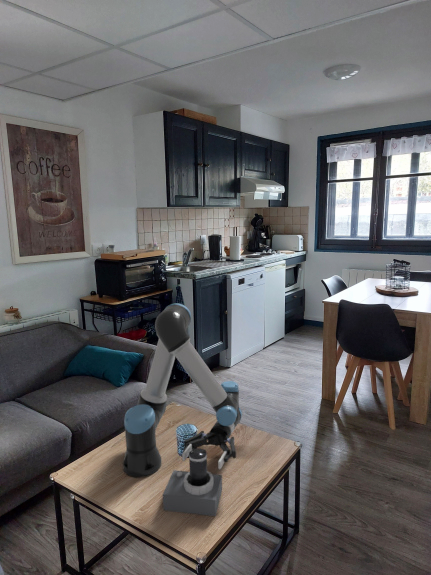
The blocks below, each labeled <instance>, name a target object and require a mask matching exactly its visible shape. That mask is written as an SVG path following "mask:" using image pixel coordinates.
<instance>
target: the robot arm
mask: <svg viewBox="0 0 431 575" xmlns="http://www.w3.org/2000/svg"><path fill="white" fill-rule="evenodd" d="M191 323H192V313H191V311H190V309H189V308H188V307H187V306H186V305H184V304H183V303H178V302H177V303H176V302H175V303H171V304H169V305H167V306H166V307H165V308H164V310H162V312H160V313H159V314H158V316H157V317H156V319H155V322H154V329H155V332H156V336H157V337H158V341H157V344H156V348H155V352H154V355H153V359H152V362H151V366H150V369H149V374H148V378H147V381H146V384H145V388H143V389H141V391H140V394H139V397H138V401H137V404H136V405H134V406H132V407H130V408H128V410H127V411H126V412H125V415H124V421H123V422H124V423H123V424H124V432H125V436H124V437H125V447H126V450H125V454H124V458H123V461H122V467H123V468H122V470H123V472H124V473H125V474H126V475H127V476H129V477H133V478H144V477H149V476H151V475H153V474H156V473H157V472H158V470H159V469H160V468H161V467H162V456H161V452H160V451H159V448H158V447H157V438H156V437H157V436H156V431H157V428H158V426H159V424H160V422H161V419H162V418H163V416H164V415H165V413H166V409H167V401H168V395H167V394H166V391H167V387H168V384H169V381H170V377H171V375H172V370H173V367H174V363H175V360H176V359H177V361H178V362H179V364H180V365H181V366H182V368H183V369H184V371H185V372H186V373H187V374H188V376H189V377H190V379H191V380H192V382H194V385H196V387H197V388H198V390H199V391H200V392H201V394H202V395H203V396H204V398H205V400H207V402H208V404H209V405H210V406H211V408H212V410H214V412H215V418H216V422H215V423H214V425H213V426H212V427H211V428H210V431H209V432H207V433H206V432H205V431H204V430H200V432H199V433H197V434H195V435H193V436H191V437H188V438H187V439H185V440H183V443H184V444H183V445H184V446H183V447H184V449H183V452H182V453H181V458H182V461H183V462H185V461H186V460H187V458H189V453H190V451H191V450H193V449H197V448H200V447H203V446H206V447H207V446H210V445H212V446H215V447H218V446H219V448H220V449H221V450H222V451H223V453H222V455H221V457H220V458H219V460H218V461H217V462H218V463H217V465H218V466H217V467H218V470H221V469H222V467H223V466H224V463H228V461H229V460H230V459H231V458H233V459H236V458H237V450H236V446H235V436H232V434H233V432H234V431H235V429H236V427H237V426H238V425H239V424H240V421H241V420H242V417H243V411H242V410H241V408H240V394H239V393H240V388H239V384H238V383H237V382H236V381H232V380H226V381H223V382H222V383H220V382H219V381H218V379H217V378H216V376H215V374H214V373H213V372H212V371H211V370H210V368H209V366H208V365H207V364H206V362H205V361H204V359H203V358H202V357H201V355H200V354H199V353H198V351H197V349H195V347H194V346H193V344H192V343H191V337H190V335H189V334H188V331H187V330H188V327H189V326H190V324H191ZM227 443H228V444H229V446H230V448H229V446H228V445H227Z"/></svg>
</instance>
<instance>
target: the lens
mask: <svg viewBox="0 0 431 575" xmlns="http://www.w3.org/2000/svg"><path fill="white" fill-rule="evenodd" d="M207 458H208V452H207V451H206V449H204V448H200V447H197V448H194V449H192V450H191V451H190V453H189V456H188V459H189V461H188V462H189V472H190V484H191V485H192V486H203V485H206V484H207V483H208V481H207V471H208V459H207Z"/></svg>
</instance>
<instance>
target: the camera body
mask: <svg viewBox="0 0 431 575" xmlns="http://www.w3.org/2000/svg"><path fill="white" fill-rule="evenodd" d="M207 481H208V483H207V484H206V485H203V486H192V485H191V484H190V471H186V470H185V471H184V470H178V469H177V470H176V469H173V471H172V473H171V475H170V478H169V480H168V482H167V484H166V486H165V489H164V491H163V493H162V507H163V508H162V509H163V511H166V512H167V511H168V512H175V513H176V512H177V513H183V514H194V515H201V516H210V517H216V516H217V513H218V508H219V505H220V500H221V496H222V492H223V475H222V474H217V473H216V474H215V473H212V472H210V471H208V470H207Z"/></svg>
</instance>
